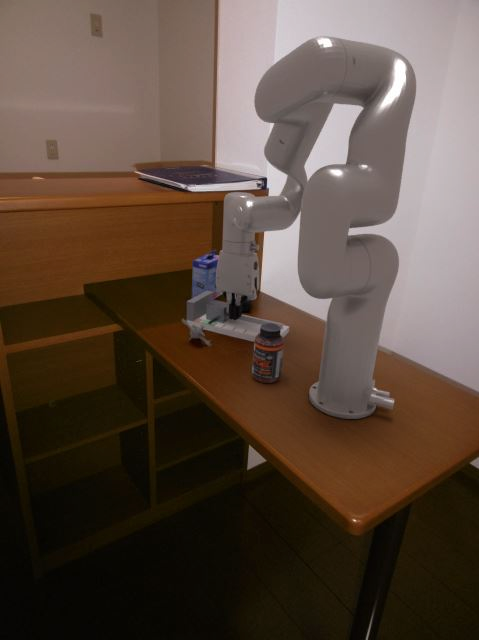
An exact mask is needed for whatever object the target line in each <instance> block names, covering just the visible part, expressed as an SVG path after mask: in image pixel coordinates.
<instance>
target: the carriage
mask: <svg viewBox="0 0 479 640" xmlns="http://www.w3.org/2000/svg"><path fill="white" fill-rule="evenodd" d="M229 317H230V314H229V304H228V303H227V301H222V300H217V299H213V301H211V302H210V303H208V304H206V319H208V320H211V321H209V322H208V323H209V324H211V323H212V322H214V321H217V322H221V323H224V322H226V321H227V320H229Z"/></svg>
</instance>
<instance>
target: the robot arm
mask: <svg viewBox="0 0 479 640" xmlns="http://www.w3.org/2000/svg"><path fill="white" fill-rule="evenodd" d="M260 78H261V79H260V80H259V82H258V84H257V86H256V89H255V93H254V101H253V102H254V108H255V112H256V115H257V117H258V118H259V119H260V120H261V121H263V122H265V123H268V124H273V126H272V128H271V131H270V133H269V136H268V138H267V140H266V143H265V146H264V148H263V154H264V157H265V159H266V161H268V163H269V164H270V165H271V166H272V167H273V168H275V169H276V170H277V171H279V172H281V173H283V174H285V175H286V181H285V184H284V186H283V188H282V190H281V192H280V193H279V195H264V196H263V195H262V196H255V195H254V194H253V193H250V192H241V191H234V192H229V193H227V194H226V195H225V196H224V198H223V219H222V220H223V223H222V225H223V226H222V249H221V250H220V251H219V253H218V254H219V258H218V263H217V270H216V287H217V289H216V292H217V293H219V294H221V295H222V296H223V297H224V299H225V300H226V302H227V303H228V304H229V314H230V317H229V319H233V320H237V319H238V318H240V316H241V315H243V311H242V303H244V302H245V301H246V300H254V301H255V300H256V299H257V298H258V296H257V291H258V290H259V288H260V267H259V266H260V265H259V257H258V252H255V251H259V250H260V244H257V243H256V240H255V237H256V233H264V232H273V231H274V232H275V231H284V230H287V229H288V228H290V227H291V226H292V225H293V224H294V223H295V222H296V220H297V218H298V216H299V215H300V216H299V217H300V218H299V230H298V232H299V233H298V247H297V249H298V251H297V273H298V274H297V275H298V279H299V282H300V285H301V288H302V289H303V290H304V292H305V293H306V294H307V295H309V296H310V297H312V298H315V299H318V300H328V299H331V301H330V303H329V306H328V309H327V315H326V321H325V329H324V335H323V344H322V350H321V360H320V368H319V376H318V381H316V382H314V383H313V384H312V385H310V387H309V390H308V400H309V401H310V404H312V406H314V407H315V408H316V409H317V410H318V411H320V412H322V413H324V414H326V415H328V416H331V417H335V418H337V419H338V418H340V419H346V420H353V419H354V420H355V419H363V418H366V417H368V416H371V415H372V414H373V413H374V412H375V410H376V408H377V406H380V407H382V408H385V409H388V410H393V408H394V404H395V398H391V397H390V396H391V395H390V394H391V393H390V391H386V390H380V389H378V387H376V386H375V384H376V379H373V376H374V369H375V364H376V359H377V354H378V349H379V348H378V347H379V344H380V337H381V331H382V328H383V323H384V317H385V312H386V308H387V304H388V302H389V301H388V300H389V298H390V294H391V292H392V290H393V287H394V285H395V282H396V280H397V276H398V273H399V267H400V258H399V257H400V256H399V253H398V250H397V248H396V246H395V245H394V243H393V242H392V241H391V240H389V238H387V237H385V236H383V235H379V234H375V233H360V234H359V233H358V234H350V235H349V232H350V229H356V228H358V229H359V228H367V227H373V226H374V227H375V226H378V225H379V226H380V225H382V224H385V223H387V222H388V221H390V220H391V219H392V218H393V216H394V215H395V213H396V211H397V209H398V204H399V198H400V192H401V187H402V186H401V185H402V177H403V171H404V170H403V169H404V164H405V156H406V155H405V154H406V149H407V147H406V146H407V137H408V134H409V133H408V132H409V127H410V123H411V117H412V115H413V110H414V106H415V103H416V102H415V101H416V97H417V78H416V74H415V70H414V68H413V66H412V64H411V63H410V61H409V60H408V59H407V58H406V57H405V56H403V54H401V53H399V52H398V51H396V50H393V49H391V48H388V47H385V46H381V45H377V44H372V43H368V42H362V41H356V40H355V41H354V40H350V39H345V38H340V37H334V36H325V35H322V36H321V35H320V36H316V37H313V38H311V39H308V40H306V41H305V42H303V43H301V44H300V45H299V46H297V47H296V48H294V49H293V50H291V51H290V52H289V53H288V54H286V55H285V56H283V57H282V58H280V59H279V60H278V61H276V62H275V63H274V64H273V65H271V66H270V67H269V68H268V69H267V70H266V71H265V72H264V73H263V75H262V77H260ZM335 104H336V105H346V106H347V105H348V106H357V107H358V106H359V107H361V108H362V109H361V111H360V112H359V114H358V116H357V117H356V119H355V120H354V123H353V125H352V127H351V129H350V134H349V136H348V149H347V156H346V161H345V163H339V164H338V163H335V164H327V165H324V166H322V167H320V168H318V169H316V170H315V171H314V173H313V174H312V175H311V176H310V177H309V178H308V175H307V172H306V168H305V165H306V163H307V162H308V159H309V158H310V155H311V152H312V150H313V149H314V147H315V145H316V143H317V140H318V139H319V136H320V135H321V132H322V131H323V128H324V126H325V124H326V122H327V120H328V118H329V116H330V114H331V112H332V110H333V108H334V106H335ZM236 294H237V298H236ZM221 295H220V296H221Z"/></svg>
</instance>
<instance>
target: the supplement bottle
mask: <svg viewBox="0 0 479 640" xmlns="http://www.w3.org/2000/svg"><path fill="white" fill-rule="evenodd" d="M280 330H281V328H280V326H279V325H277V324H273V323H265V324H262V325H261V327H260V333H259V334H258V335H257V336H256V337H255V341H254V343H253V357H252V369H251V375H252V377H253V379H255V381H258V382H259V383H264V384H272V383H276V382H277V381H280V378H281V377H282V376H281V375H282V367H283V357H284V347H285V339H284V337H282V336H281V335H280Z"/></svg>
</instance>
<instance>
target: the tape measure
mask: <svg viewBox="0 0 479 640" xmlns="http://www.w3.org/2000/svg"><path fill="white" fill-rule="evenodd" d="M236 298H237V294H236ZM254 301H255V300H246V301H245V302H244V303H242V312H246V311H247V312H248V311H251V310H252V306H253V305H252V304H253V302H254Z"/></svg>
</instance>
